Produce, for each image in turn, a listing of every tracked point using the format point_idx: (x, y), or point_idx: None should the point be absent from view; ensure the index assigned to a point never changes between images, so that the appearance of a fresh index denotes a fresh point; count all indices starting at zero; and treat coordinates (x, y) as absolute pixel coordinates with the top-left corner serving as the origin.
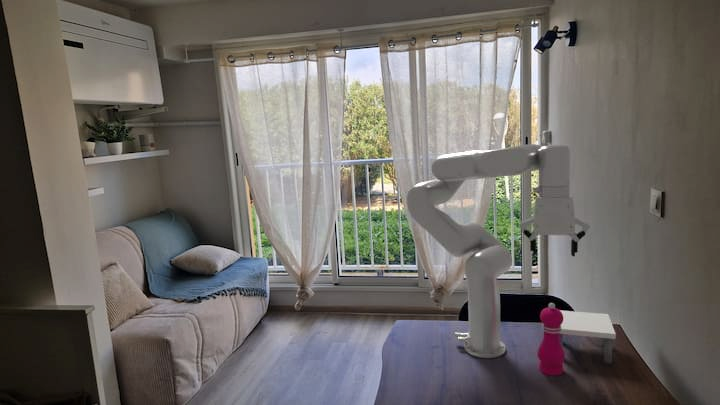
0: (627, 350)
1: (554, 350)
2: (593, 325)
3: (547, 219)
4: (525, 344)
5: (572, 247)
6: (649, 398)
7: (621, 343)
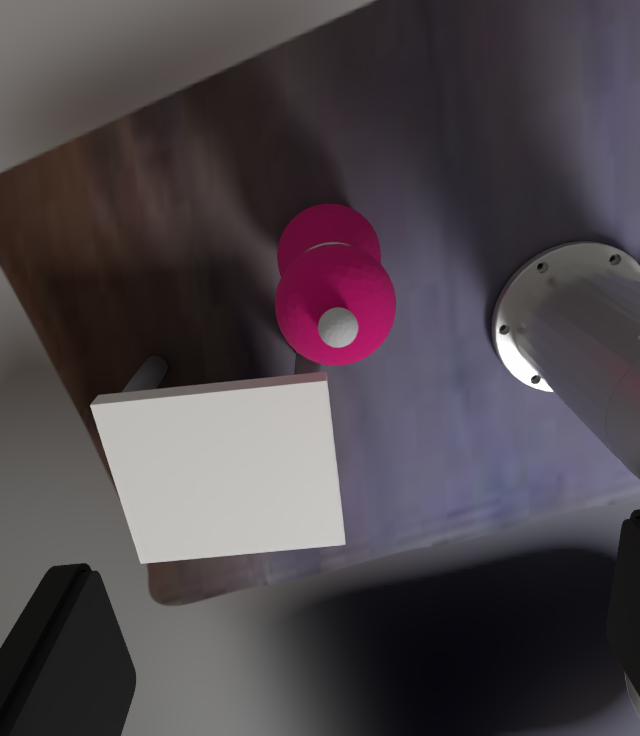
0: None
1: (314, 227)
2: (179, 454)
3: None
4: (422, 397)
5: (17, 697)
6: (7, 169)
7: None
